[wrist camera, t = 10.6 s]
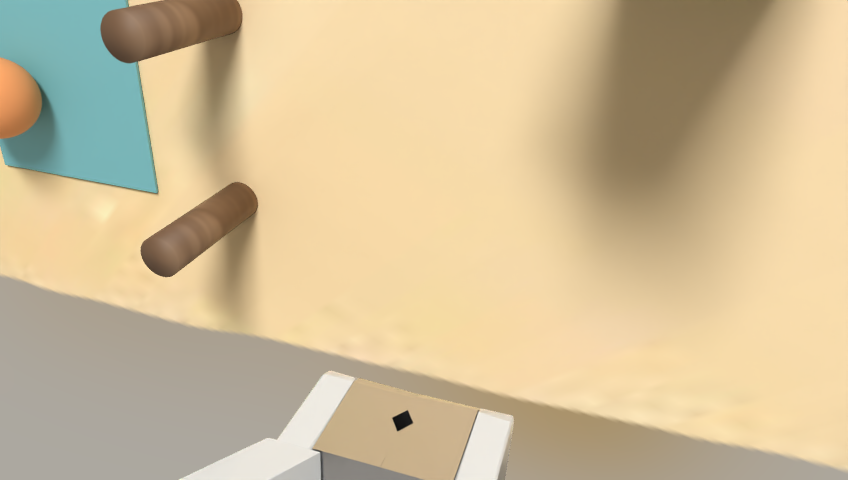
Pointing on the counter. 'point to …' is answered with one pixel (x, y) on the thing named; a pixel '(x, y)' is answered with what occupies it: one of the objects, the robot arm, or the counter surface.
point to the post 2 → (198, 229)
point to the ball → (17, 99)
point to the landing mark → (77, 95)
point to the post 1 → (166, 26)
